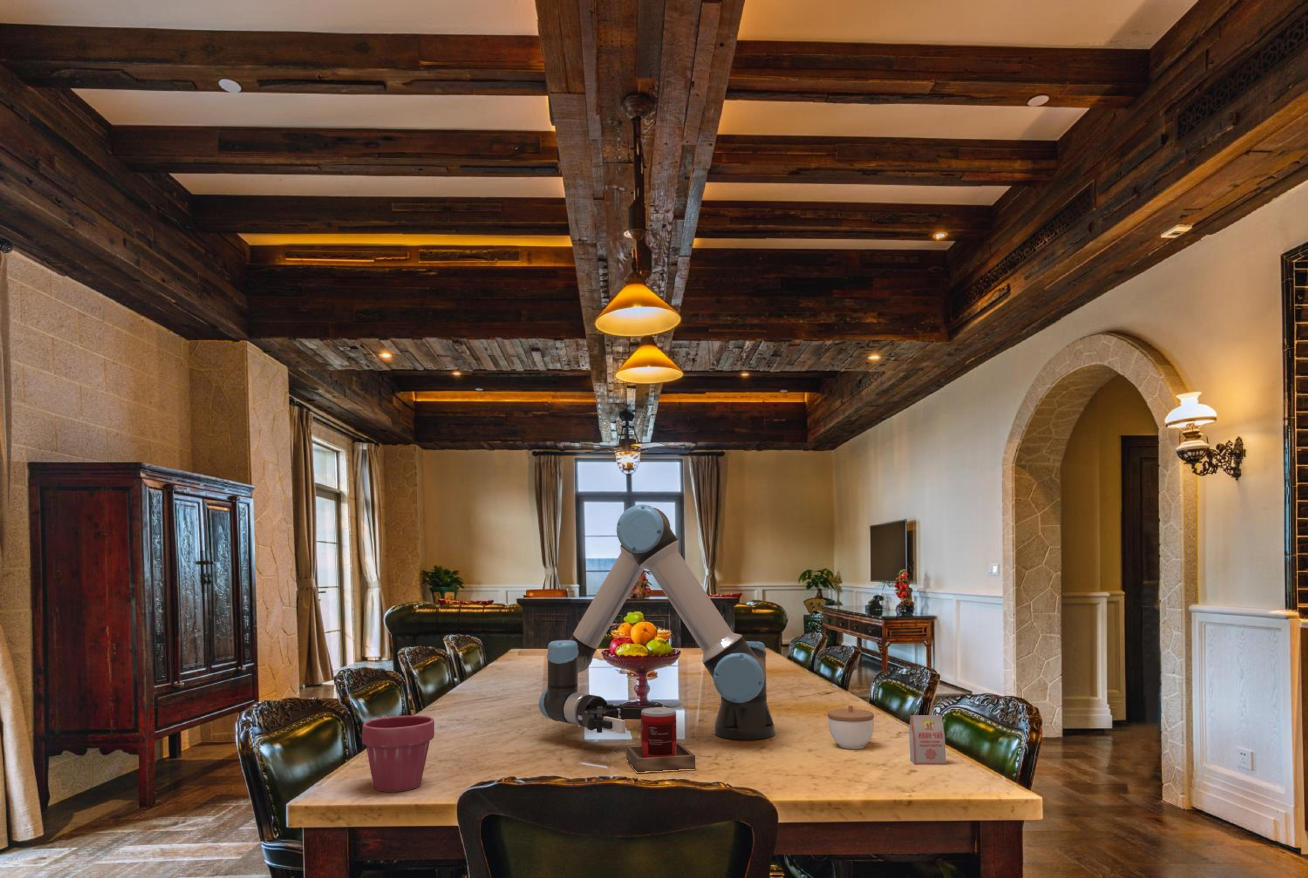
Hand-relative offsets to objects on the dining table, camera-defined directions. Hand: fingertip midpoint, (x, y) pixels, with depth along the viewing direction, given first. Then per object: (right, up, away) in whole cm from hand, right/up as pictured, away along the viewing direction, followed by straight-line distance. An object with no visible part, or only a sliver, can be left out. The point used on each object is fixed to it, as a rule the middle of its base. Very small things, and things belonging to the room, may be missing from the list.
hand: (646, 722), depth 196 cm
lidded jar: (+48, -10, +13) cm, 51 cm away
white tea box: (+61, -8, -4) cm, 62 cm away
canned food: (+3, -8, -4) cm, 9 cm away
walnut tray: (+3, -8, -4) cm, 9 cm away
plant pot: (-50, -7, -18) cm, 54 cm away
